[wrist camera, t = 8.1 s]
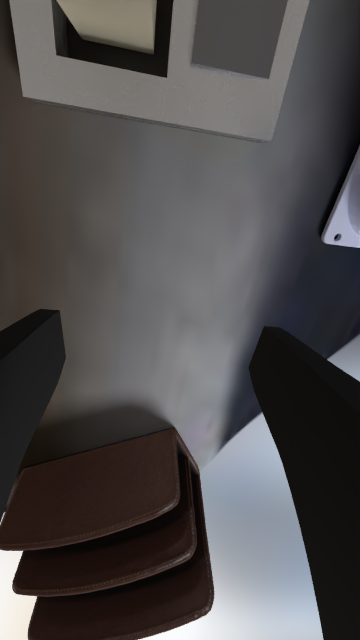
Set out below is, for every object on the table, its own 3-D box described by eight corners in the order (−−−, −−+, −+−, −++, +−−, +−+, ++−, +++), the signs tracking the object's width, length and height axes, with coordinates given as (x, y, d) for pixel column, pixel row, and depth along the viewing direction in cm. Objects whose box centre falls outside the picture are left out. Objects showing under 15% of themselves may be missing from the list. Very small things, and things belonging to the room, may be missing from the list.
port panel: (316, -89, 11) (350, -141, 9) (258, 142, 15) (273, 140, 13) (5, -187, 9) (-36, -278, 7) (40, 103, 13) (20, 95, 11)
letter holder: (199, 466, 35) (220, 628, 23) (67, 499, 37) (24, 661, 25) (175, 424, 29) (186, 608, 17) (22, 465, 32) (-59, 652, 20)
